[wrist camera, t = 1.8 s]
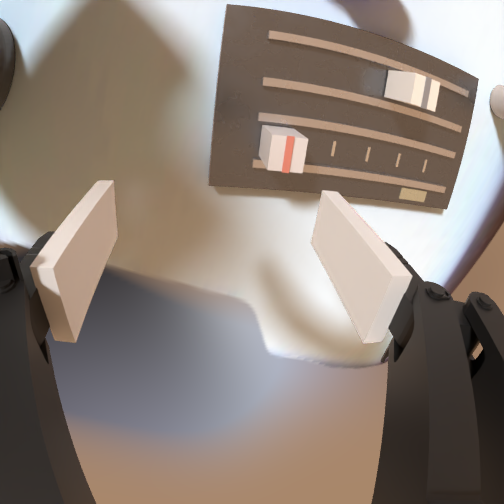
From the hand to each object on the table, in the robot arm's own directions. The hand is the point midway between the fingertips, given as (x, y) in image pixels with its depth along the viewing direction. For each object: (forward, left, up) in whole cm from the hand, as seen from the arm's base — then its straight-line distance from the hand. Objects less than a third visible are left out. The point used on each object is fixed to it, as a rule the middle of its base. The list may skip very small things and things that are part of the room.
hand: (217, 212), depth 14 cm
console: (+15, +4, -19) cm, 25 cm away
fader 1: (+6, 0, -17) cm, 18 cm away
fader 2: (+18, +8, -17) cm, 26 cm away
